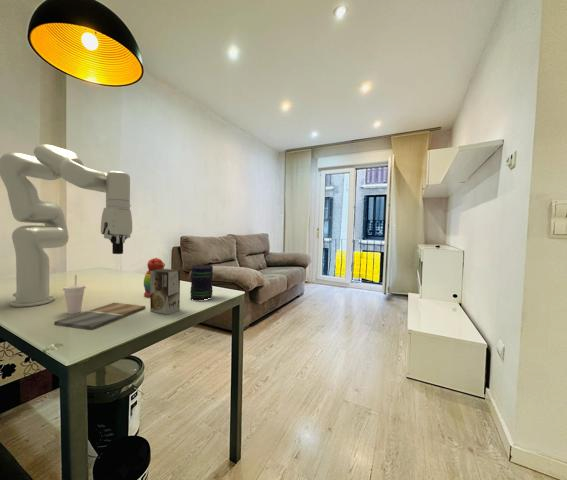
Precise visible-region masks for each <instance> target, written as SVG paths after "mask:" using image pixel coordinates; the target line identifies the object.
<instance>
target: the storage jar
mask: <svg viewBox="0 0 567 480" xmlns="http://www.w3.org/2000/svg"><path fill="white" fill-rule="evenodd" d="M213 268H214V266H213V265H207V264H199V265H192V266H190V280H191V281H190V286H191V287H190V292H189V293H190V300H191V299H193V300H204V299H208V298H211V297H212V298H213V278H214V277H213V275H214V273H213V272H214V271H213V270H214V269H213Z"/></svg>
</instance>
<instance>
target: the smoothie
mask: <svg viewBox="0 0 567 480" xmlns="http://www.w3.org/2000/svg"><path fill="white" fill-rule="evenodd" d="M77 281H78V279H77V274H75V275H74V284H71V285H65V286H63V287H62V290H63V291H64V297H65V303H66V310H67V314H70V315H72V314H73V315H75V314H80V313H82V306H83V300H84V294H85V289H86V285H85V284H78V283H77Z"/></svg>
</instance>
